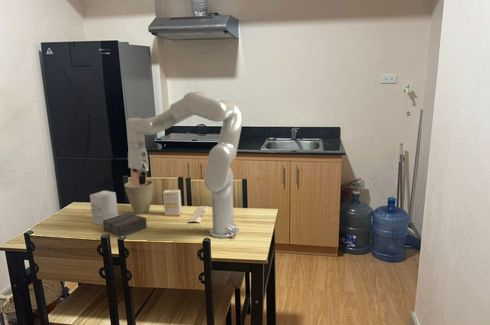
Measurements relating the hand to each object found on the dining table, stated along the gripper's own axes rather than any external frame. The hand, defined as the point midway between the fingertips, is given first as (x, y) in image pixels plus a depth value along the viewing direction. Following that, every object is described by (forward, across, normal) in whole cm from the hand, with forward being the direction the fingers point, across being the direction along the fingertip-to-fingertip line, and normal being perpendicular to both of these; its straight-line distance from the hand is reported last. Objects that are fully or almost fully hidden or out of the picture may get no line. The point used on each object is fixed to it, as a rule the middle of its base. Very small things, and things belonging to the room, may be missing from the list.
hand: (139, 182), depth 176 cm
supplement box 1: (+23, +21, +7) cm, 31 cm away
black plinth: (+22, +4, +7) cm, 23 cm away
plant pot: (+22, +19, -13) cm, 32 cm away
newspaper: (+23, -11, -28) cm, 38 cm away
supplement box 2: (+22, +1, -20) cm, 30 cm away
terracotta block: (+1, 0, 0) cm, 1 cm away
